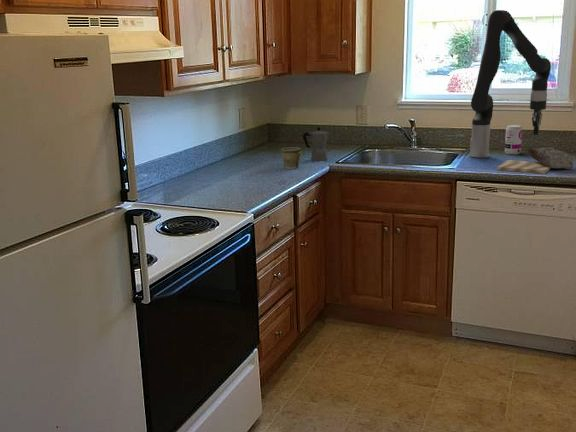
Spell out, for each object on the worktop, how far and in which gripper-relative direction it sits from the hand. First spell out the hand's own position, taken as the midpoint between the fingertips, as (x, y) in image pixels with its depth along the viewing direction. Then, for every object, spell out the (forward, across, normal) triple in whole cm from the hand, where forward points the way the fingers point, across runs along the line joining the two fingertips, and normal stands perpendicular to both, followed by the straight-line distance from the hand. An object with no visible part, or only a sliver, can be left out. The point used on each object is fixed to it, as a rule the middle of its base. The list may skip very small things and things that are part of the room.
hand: (535, 134), depth 315 cm
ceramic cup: (+14, +63, -104) cm, 123 cm away
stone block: (+8, +2, +2) cm, 8 cm away
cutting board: (+14, +17, 0) cm, 22 cm away
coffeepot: (+14, +39, -104) cm, 112 cm away
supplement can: (+14, -21, -16) cm, 30 cm away
